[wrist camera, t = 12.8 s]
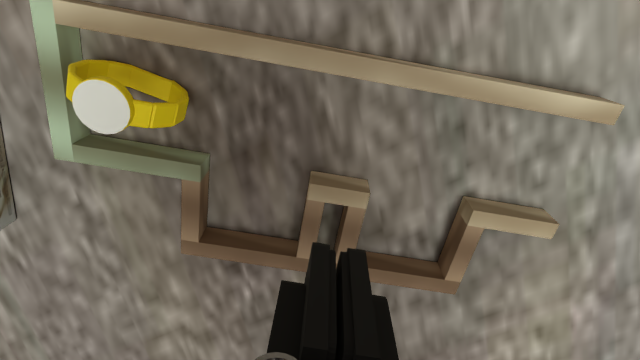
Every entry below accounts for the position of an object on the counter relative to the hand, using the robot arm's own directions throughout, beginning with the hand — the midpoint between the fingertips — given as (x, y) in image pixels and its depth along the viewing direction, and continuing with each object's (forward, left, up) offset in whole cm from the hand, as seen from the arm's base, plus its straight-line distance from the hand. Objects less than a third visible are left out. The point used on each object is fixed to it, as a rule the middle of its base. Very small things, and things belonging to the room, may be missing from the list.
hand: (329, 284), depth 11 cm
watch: (+2, +12, -14) cm, 18 cm away
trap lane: (-2, 0, -14) cm, 14 cm away
